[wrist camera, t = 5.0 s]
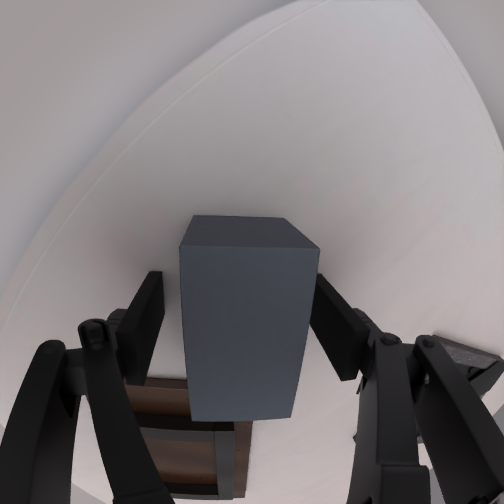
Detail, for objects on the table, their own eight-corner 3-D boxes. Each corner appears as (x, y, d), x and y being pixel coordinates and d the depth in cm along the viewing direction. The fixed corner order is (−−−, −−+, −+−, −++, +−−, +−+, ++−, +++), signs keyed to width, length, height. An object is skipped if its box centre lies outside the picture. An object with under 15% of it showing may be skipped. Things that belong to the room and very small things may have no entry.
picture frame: (499, 356, 24) (433, 334, 20) (508, 364, 22) (446, 346, 19) (441, 432, 27) (352, 438, 23) (448, 441, 25) (359, 451, 22)
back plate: (244, 491, 25) (246, 507, 23) (136, 485, 23) (134, 501, 21) (254, 379, 19) (259, 404, 17) (82, 369, 18) (71, 390, 15)
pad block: (271, 352, 19) (290, 417, 13) (196, 352, 18) (191, 421, 12) (284, 218, 16) (320, 248, 10) (193, 215, 15) (179, 245, 10)
